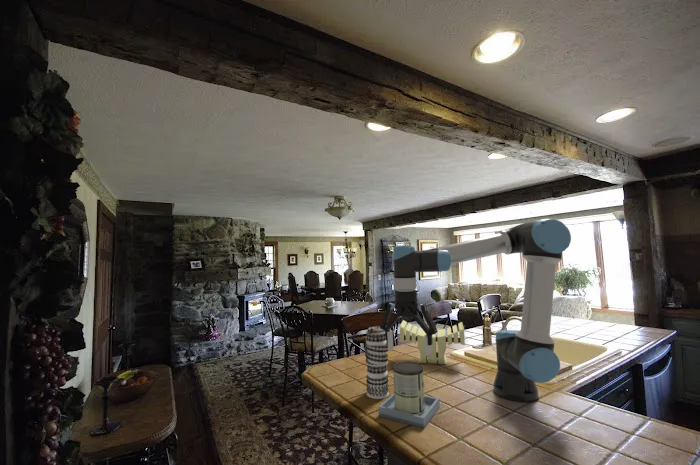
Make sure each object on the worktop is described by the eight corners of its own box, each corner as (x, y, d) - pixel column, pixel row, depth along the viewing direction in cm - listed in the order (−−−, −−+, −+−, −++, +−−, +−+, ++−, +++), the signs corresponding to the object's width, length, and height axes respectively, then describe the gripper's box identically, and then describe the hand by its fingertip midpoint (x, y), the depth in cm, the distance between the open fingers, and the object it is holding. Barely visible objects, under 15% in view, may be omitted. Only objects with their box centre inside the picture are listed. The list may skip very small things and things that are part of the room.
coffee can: (392, 402, 115) (390, 361, 116) (420, 401, 115) (419, 360, 116) (397, 417, 105) (395, 372, 106) (428, 415, 105) (427, 371, 106)
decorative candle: (364, 398, 121) (362, 330, 122) (366, 388, 130) (365, 325, 132) (389, 399, 119) (387, 330, 121) (389, 389, 129) (387, 325, 130)
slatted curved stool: (400, 363, 158) (399, 326, 159) (404, 353, 174) (403, 320, 175) (465, 367, 150) (464, 328, 152) (463, 357, 166) (461, 321, 167)
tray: (439, 407, 113) (439, 398, 113) (424, 428, 100) (423, 418, 100) (398, 397, 121) (397, 389, 121) (378, 416, 108) (378, 406, 108)
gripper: (444, 289, 110) (448, 353, 108) (378, 288, 123) (381, 345, 121) (437, 292, 103) (441, 360, 102) (369, 290, 116) (371, 350, 115)
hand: (408, 352), depth 112 cm, fingers open, 13 cm apart
